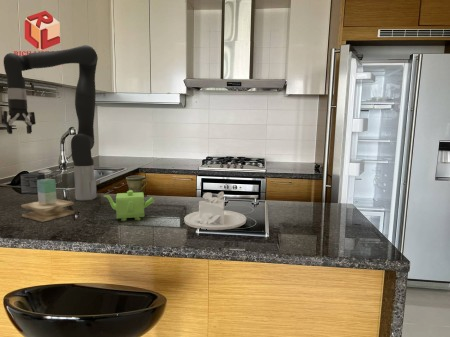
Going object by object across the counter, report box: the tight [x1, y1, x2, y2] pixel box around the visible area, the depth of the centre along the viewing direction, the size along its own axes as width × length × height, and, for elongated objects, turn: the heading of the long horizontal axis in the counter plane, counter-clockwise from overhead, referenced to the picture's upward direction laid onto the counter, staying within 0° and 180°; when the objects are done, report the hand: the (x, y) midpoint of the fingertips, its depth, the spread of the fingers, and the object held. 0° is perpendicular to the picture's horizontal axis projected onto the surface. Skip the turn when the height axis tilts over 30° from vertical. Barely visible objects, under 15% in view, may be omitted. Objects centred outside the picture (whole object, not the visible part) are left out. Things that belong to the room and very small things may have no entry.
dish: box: [183, 191, 247, 231], centre depth 131 cm, size 25×25×11 cm
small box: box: [19, 173, 46, 195], centre depth 180 cm, size 11×6×10 cm, turn 84°
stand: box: [20, 198, 75, 223], centre depth 136 cm, size 14×14×5 cm
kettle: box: [103, 189, 155, 222], centre depth 133 cm, size 15×14×11 cm
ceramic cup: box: [125, 175, 149, 193], centre depth 175 cm, size 13×10×10 cm
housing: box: [37, 178, 58, 205], centre depth 135 cm, size 5×5×10 cm
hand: (19, 133), depth 155 cm, fingers open, 8 cm apart
